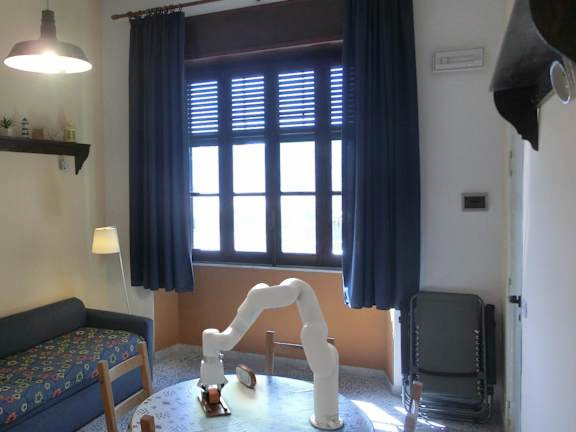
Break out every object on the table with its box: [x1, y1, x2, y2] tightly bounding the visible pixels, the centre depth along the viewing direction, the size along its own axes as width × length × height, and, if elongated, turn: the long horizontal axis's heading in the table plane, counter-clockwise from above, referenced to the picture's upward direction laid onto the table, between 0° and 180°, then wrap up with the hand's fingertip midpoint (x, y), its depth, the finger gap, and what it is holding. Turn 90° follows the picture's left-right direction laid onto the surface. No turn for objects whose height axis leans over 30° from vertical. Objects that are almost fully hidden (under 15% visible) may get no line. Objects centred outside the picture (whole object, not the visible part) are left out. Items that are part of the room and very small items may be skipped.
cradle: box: [197, 386, 232, 418], centre depth 216 cm, size 20×10×5 cm, turn 11°
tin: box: [235, 363, 257, 389], centre depth 238 cm, size 15×3×8 cm, turn 25°
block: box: [208, 387, 219, 403], centre depth 217 cm, size 6×4×4 cm, turn 11°
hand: (213, 398), depth 217 cm, fingers closed on block, 4 cm apart
